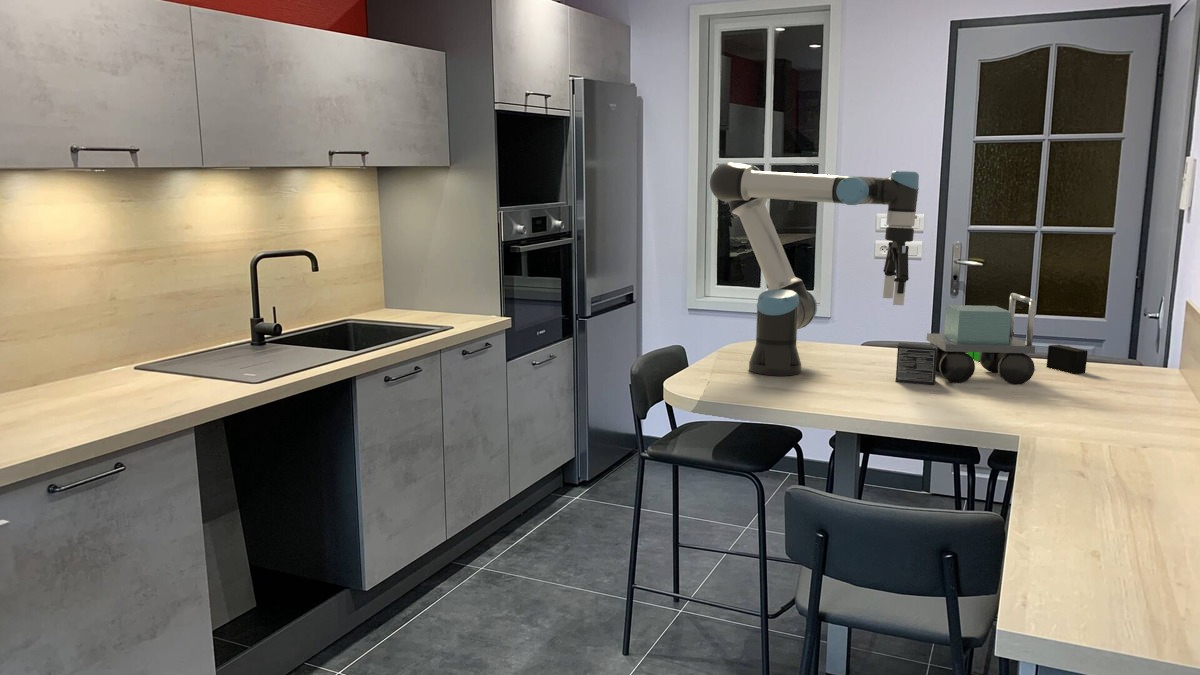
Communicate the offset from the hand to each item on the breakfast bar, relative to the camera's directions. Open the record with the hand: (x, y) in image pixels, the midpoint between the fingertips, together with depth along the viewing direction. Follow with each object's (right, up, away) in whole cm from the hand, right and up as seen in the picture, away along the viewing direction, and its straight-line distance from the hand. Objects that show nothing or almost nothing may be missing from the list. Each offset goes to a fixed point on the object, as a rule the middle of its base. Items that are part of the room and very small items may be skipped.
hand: (892, 301), depth 252 cm
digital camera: (+57, -20, +13) cm, 61 cm away
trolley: (+24, -22, +2) cm, 33 cm away
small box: (+5, -23, -4) cm, 24 cm away
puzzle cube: (+39, -18, +27) cm, 51 cm away
